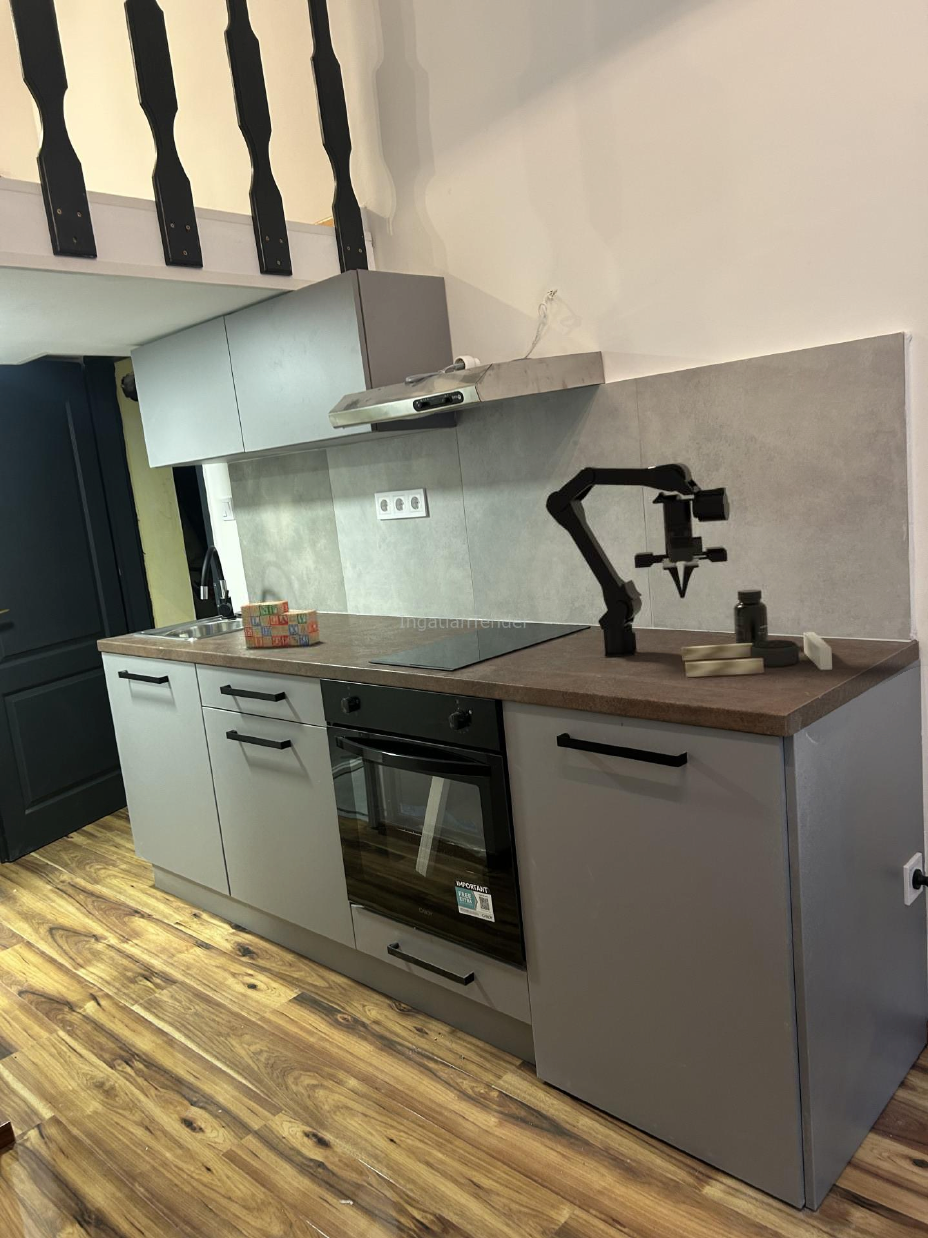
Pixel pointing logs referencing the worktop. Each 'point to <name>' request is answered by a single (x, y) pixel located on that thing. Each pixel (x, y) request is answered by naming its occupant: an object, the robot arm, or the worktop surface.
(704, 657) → the tunnel walls
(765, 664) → the smart speaker
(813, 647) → the block
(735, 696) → the worktop surface
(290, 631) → the stack of blocks
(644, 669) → the worktop surface
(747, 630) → the supplement bottle
